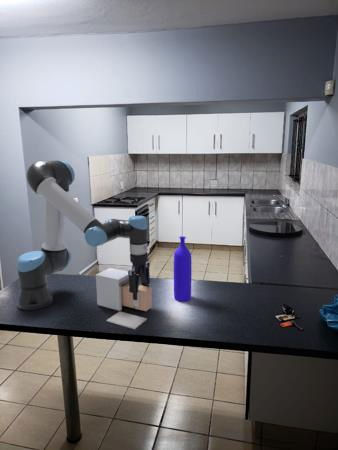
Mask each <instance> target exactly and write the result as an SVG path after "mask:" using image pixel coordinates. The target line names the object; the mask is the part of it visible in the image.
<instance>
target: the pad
mask: <svg viewBox="0 0 338 450" xmlns="http://www.w3.org/2000/svg"><path fill="white" fill-rule="evenodd" d="M147 320H148V318H147V317H142V316H140V315H139V316H138V315H136V314H131V313H127V312H123V311H121V310H120V311H119V310H118V312H117V313H115V314H113V315H112V316H111V317H109V318H107V319H106V322H108V323H112V324H115V325H118V326H121V327H125V328H129V329H132V330H136V329H137V328H138V327H140V326H141V325H142V324H143V323H144V322H146V321H147Z"/></svg>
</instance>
